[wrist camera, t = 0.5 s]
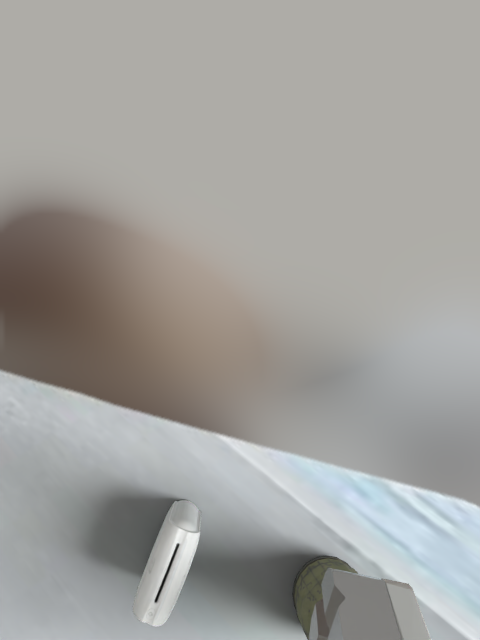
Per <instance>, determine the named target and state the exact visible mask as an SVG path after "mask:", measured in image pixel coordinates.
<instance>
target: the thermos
mask: <svg viewBox="0 0 480 640" xmlns="http://www.w3.org/2000/svg"><path fill="white" fill-rule="evenodd" d="M328 568H332V569H337V570H342V571H346V572H351V573H356V574H358V573H357V572H356V571H355V570H354V569H353V568H351V567H350V566H349V565H348V564H347V563H346V562H344V561H342V560H340V559H339V558H336V557H330V556H323V557H318V558H315V559H313V560H311V561H310V562H308V563H306V564H305V566H304V567H303V568H302V569H301V570H300V571H299V573H298V575H297V577H296V580H295V582H294V588H293V600H294V606H295V608H296V610H297V616H298V619H299V621H300V623H301V626H302V628H303V630H304V632H305V635H306V637H307V639H308V640H309V633H310V625H311V618H312V614H313V611H314V607H315V603H317V602H318V601H320V600H321V599H322V598H323V595H322V586H321V584H322V581H323V578H324V574H325V572H326V571H327V569H328Z"/></svg>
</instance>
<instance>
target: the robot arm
mask: <svg viewBox="0 0 480 640" xmlns="http://www.w3.org/2000/svg"><path fill="white" fill-rule="evenodd" d="M321 586H322V595H323V598H322V599H321V600H320V601H318V602H317V603H315V607H314V611H313V614H312V618H311V625H310V633H309V640H431V638H430V635H429V632H428V629H427V627H426V624H425V621H424V618H423V616H422V613H421V610H420V607H419V605H418V602H417V599H416V596H415V594H414V591H413V589H412V587H411V586H410V585H409V584H406V583H402V582H397V581H392V580H387V579H379V578H374V577H370V576H365V575H360V574H356V573H351V572H346V571H342V570H337V569H332V568H328V569H327V571H326V572H325V574H324V578H323V581H322V584H321Z"/></svg>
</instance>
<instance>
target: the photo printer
mask: <svg viewBox="0 0 480 640" xmlns="http://www.w3.org/2000/svg"><path fill="white" fill-rule="evenodd" d="M200 526H201V511H200V510H198V508H197V507H196V505H195V504H193V503H192V502H190V501H187V500H181V501H178V502H177V501H175V502H174V503H173V504H172V506H171V507H170V509H169V511H168V513H167V515H166V517H165V520H164V522H163V524H162V527H161V529H160V532H159V534H158V536H157V539H156V541H155V544H154V546H153V549H152V551H151V554H150V557H149V559H148V561H147V565H146V567H145V570H144V573H143V575H142V578H141V580H140V583H139V586H138V588H137V592H136V595H135V599H134V604H133V613H134V615H135V616H136V618H137V619H138V620H139V621H141V622H145V623H148V624H150V625H151V626H160V625H163V624H164V623H165V622H166V621H167V619H168V618H169V616H170V614H171V613H172V611H173V608H174V606H175V604H176V602H177V599H178V597H179V595H180V592H181V590H182V588H183V585H184V582H185V580H186V577H187V575H188V572H189V569H190V566H191V564H192V561H193V558H194V555H195V552H196V549H197V546H198V542H199V536H200Z"/></svg>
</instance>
